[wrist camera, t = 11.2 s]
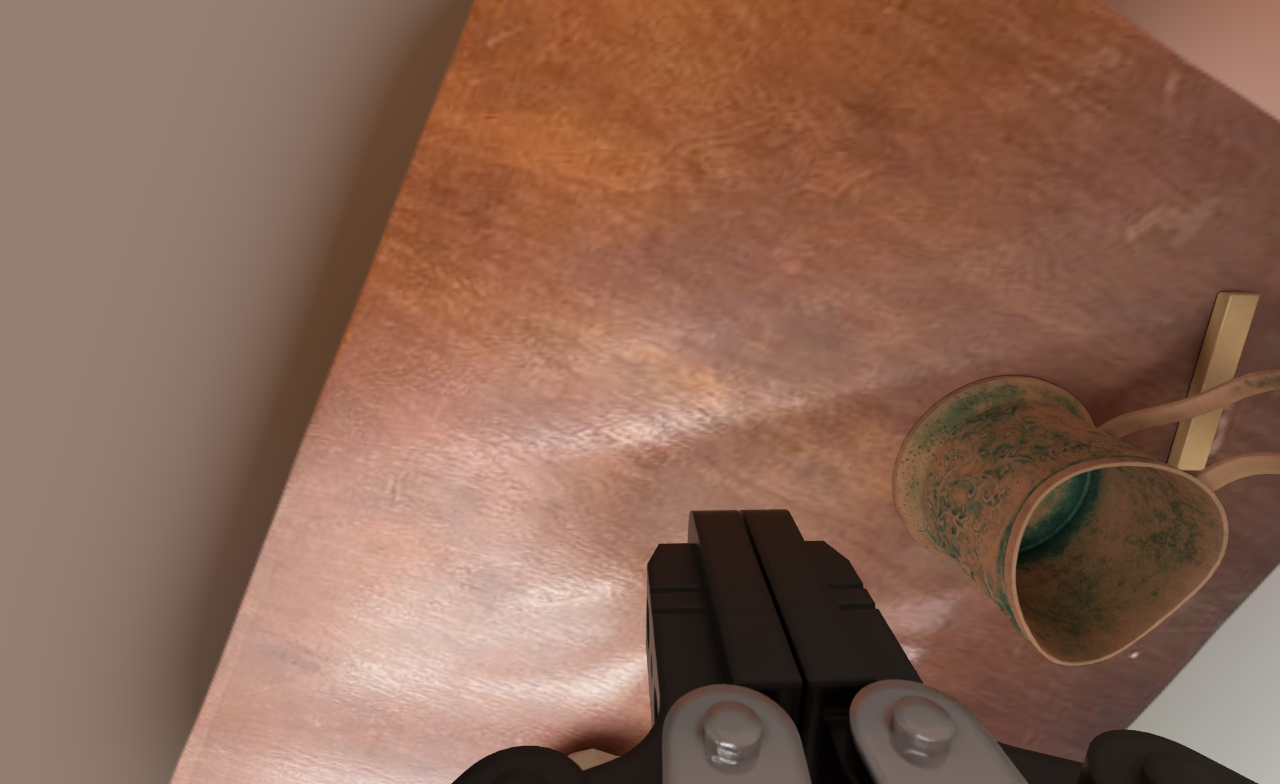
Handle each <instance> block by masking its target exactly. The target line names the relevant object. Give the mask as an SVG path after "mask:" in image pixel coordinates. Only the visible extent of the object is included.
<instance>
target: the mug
mask: <svg viewBox="0 0 1280 784" xmlns="http://www.w3.org/2000/svg"><path fill="white" fill-rule="evenodd" d="M1274 390H1280V369H1269V370H1263V371H1257V372H1253V373H1249V374H1246V375H1242V376H1239V377H1237V378H1234V379H1231V380H1229V381H1226V382H1224V383H1221V384H1219V385H1217V386H1215V387H1212V388H1210V389H1208V390H1206V391H1203V392H1201V393H1198V394H1196V395H1193V396H1191V397H1188V398H1185V399H1182V400H1178V401H1175V402H1171V403H1167V404H1163V405H1159V406H1155V407H1150V408H1146V409H1141V410H1137V411H1133V412H1129V413H1125V414H1123V415H1120V416H1117V417H1115V418H1113V419H1111V420H1109V421H1108V422H1106V423H1104V424H1102V425H1101V426H1099V427H1097V428H1096V427H1095V426H1094V423H1093V421H1092V419H1091V417H1090V415H1089V414H1088V412H1087V411H1086V409H1085V408H1084V407H1083V406H1082V404H1081V403H1080V402H1079V401H1078V400H1077V399H1076V398H1075V397H1073V396H1072V395H1071V394H1069V393H1068V392H1067V391H1065V390H1063V389H1061V388H1060V387H1058V386H1055V385H1053V384H1051V383H1048V382H1046V381H1043V380H1040V379H1036V378H1032V377H1025V376H999V377H993V378H988V379H983V380H980V381H977V382H974V383H971V384H969V385H966V386H964V387H962V388H960V389H958V390H956V391H954V392H952V393H950V394H949V395H947V396H946V397H944V398H943V399H941V400H940V401H939V402H937V403H936V404H935V405H934V406H932V407H931V408H930V409H929V410H928V411H927V412H926V413H925V414H924V415H923V416H922V417H921V418H920V419H919V420H918V422H917V423H916V424H915V426H914V427H913V428H912V430H911V431H910V433H909V434H908V436H907V438H906V439H905V441H904V443H903V445H902V447H901V449H900V452H899V455H898V458H897V461H896V465H895V469H894V476H893V494H894V501H895V505H896V508H897V512H898V514H899V516H900V518H901V520H902V522H903V524H904V525H905V527H906V528H907V530H908V531H909V532H910V534H911V535H912V536H913V537H914V538H915V539H916V540H917V541H918V542H919V543H920V544H921V545H922V546H923V547H925V548H926V549H928V550H929V551H931V552H933V553H934V554H936V555H939V556H941V557H943V558H946V559H949V560H952V561H956V562H958V563H959V565H960V567H961V568H962V570H963V571H964V572H965V573H966V574H967V575H968V576H970V577H971V579H972V580H973V581H974V583H975V584H976V585H977V586H978V587H980V588H981V589H982V590H983V591H984V592H985V593H986V594H987V595H988V596H989V597H990V598H991V599H992V600H993V601H994V602H995V604H996V605H997V606H998V607H999V608H1000V609H1001V611H1002V612H1003V613H1004V614H1005V615H1006V616H1007V617H1008V618H1009V619H1010V621H1011V623H1012V625H1013V627H1014V628H1015V629H1016V630H1017V632H1018V633H1020V634H1021V635H1022V636H1023V637H1024V638H1025V639H1026V640H1027V641H1028V642H1029V643H1030V644H1031V645H1033V646H1034V647H1035V648H1036V649H1038V650H1039V651H1040V652H1041V653H1042V654H1043V655H1044V656H1045V657H1046V658H1048V659H1049V660H1051V661H1053V662H1055V663H1057V664H1061V665H1067V666H1076V665H1086V664H1092V663H1096V662H1100V661H1102V660H1105V659H1108V658H1110V657H1112V656H1114V655H1116V654H1118V653H1119V652H1121V651H1123V650H1124V649H1126V648H1127V647H1129V646H1130V645H1132V644H1133V643H1135V642H1136V641H1138V640H1139V639H1140V638H1142V637H1143V636H1144V635H1146V634H1147V633H1148V632H1150V631H1151V630H1152V629H1154V628H1155V627H1156V626H1157V625H1159V624H1160V623H1161V622H1162V621H1164V620H1165V619H1166V618H1167V617H1168V616H1170V615H1171V614H1172V613H1173V612H1174V611H1175V610H1177V609H1178V608H1179V607H1180V606H1181V605H1182V604H1183V603H1185V602H1186V601H1187V600H1188V599H1189V598H1191V597H1192V596H1193V595H1194V594H1195V593H1196V592H1197V591H1198V590H1199V589H1200V588H1201V587H1202V586H1203V585H1204V584H1205V583H1206V582H1207V581H1208V580H1209V578H1210V577H1211V576H1212V575H1213V573H1214V572H1215V570H1216V569H1217V567H1218V566H1219V564H1220V562H1221V560H1222V558H1223V555H1224V553H1225V550H1226V547H1227V542H1228V533H1229V529H1228V521H1227V516H1226V513H1225V510H1224V508H1223V506H1222V504H1221V502H1220V501H1219V499H1218V498H1217V497H1216V495H1215V494H1214V493H1213V492H1214V491H1216V490H1217V489H1219V488H1221V487H1222V486H1224V485H1226V484H1228V483H1230V482H1232V481H1235V480H1237V479H1240V478H1243V477H1247V476H1251V475H1257V474H1280V453H1274V452H1254V453H1246V454H1240V455H1236V456H1232V457H1229V458H1226V459H1223V460H1221V461H1218V462H1216V463H1214V464H1212V465H1210V466H1208V467H1206V468H1205V469H1203V470H1201V471H1200V472H1198V473H1197V474H1195V475H1194V476H1191V475H1190V474H1188V473H1186V472H1184V471H1182V470H1180V469H1178V468H1176V467H1174V466H1171V465H1169V464H1166V463H1164V462H1163V461H1161V460H1159V459H1157V458H1155V457H1153V456H1151V455H1149V454H1147V453H1145V452H1144V451H1142V450H1140V449H1138V448H1136V447H1134V446H1132V445H1130V444H1128V443H1126V442H1124V441H1122V440H1120V439H1119V438H1121V437H1123V436H1125V435H1127V434H1129V433H1132V432H1135V431H1138V430H1142V429H1146V428H1151V427H1156V426H1161V425H1166V424H1171V423H1175V422H1180V421H1184V420H1187V419H1191V418H1194V417H1198V416H1201V415H1204V414H1207V413H1209V412H1212V411H1214V410H1217V409H1219V408H1222V407H1224V406H1226V405H1229V404H1231V403H1233V402H1236V401H1238V400H1241V399H1243V398H1246V397H1249V396H1252V395H1255V394H1259V393H1263V392H1267V391H1274Z"/></svg>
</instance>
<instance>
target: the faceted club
mask: <svg viewBox="0 0 1280 784" xmlns="http://www.w3.org/2000/svg"><path fill="white" fill-rule="evenodd" d="M568 757H569V758H571V759H572V760H573V761H574V762H575V763H577V764H578V765H579V766H580V768H581V769H582V770H586V769H588V768H591V767H594V766H597V765H600V764H603V763H605V762H608V761H611V760H613V759H615V758H618V757H620V756H615V755H612V754H609V753H606V752H602V751H599V750H596V749H588V750H584V751H579V752H574V753H572V754H570V755H568Z"/></svg>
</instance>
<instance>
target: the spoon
mask: <svg viewBox="0 0 1280 784" xmlns="http://www.w3.org/2000/svg"><path fill="white" fill-rule="evenodd" d="M1259 297H1260V296H1259V295H1258V294H1253V293H1247V292H1219V293H1218V296H1217V299H1216V302H1215V306H1214V309H1213V312H1212V316H1211V319H1210V322H1209V326H1208V329H1207V332H1206V336H1205V339H1204V342H1203V345H1202V349H1201V352H1200V355H1199V359H1198V362H1197V365H1196V369H1195V372H1194V375H1193V379H1192V382H1191V385H1190V389H1189V392H1188V395H1187V398H1188V397H1191V396H1193V395H1196V394H1198V393H1201V392H1203V391H1206V390H1208V389H1210V388H1212V387H1215V386H1217V385H1219V384H1221V383H1224V382H1226V381H1229V380H1231V379H1233V378H1234V374H1235V371H1236V368H1237V365H1238V362H1239V359H1240V356H1241V353H1242V350H1243V346H1244V343H1245V340H1246V337H1247V334H1248V331H1249V328H1250V325H1251V322H1252V318H1253V315H1254V312H1255V309H1256V306H1257V303H1258V300H1259ZM1223 409H1224V407H1222V408H1219V409H1217V410H1214V411H1212V412H1209V413H1207V414H1204V415H1201V416H1198V417H1194V418H1191V419H1187V420H1184V421H1180V422H1179V425H1178V429H1177V432H1176V435H1175V439H1174V442H1173V445H1172V449H1171V452H1170V455H1169V459H1168V462H1167V464H1169V465H1171V466H1174V467H1176V468H1178V469H1180V470H1203V469H1204V468H1205V465H1206V462H1207V459H1208V455H1209V452H1210V449H1211V446H1212V443H1213V440H1214V437H1215V434H1216V431H1217V427H1218V424H1219V421H1220V418H1221V415H1222V412H1223Z"/></svg>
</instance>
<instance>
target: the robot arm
mask: <svg viewBox="0 0 1280 784" xmlns="http://www.w3.org/2000/svg"><path fill="white" fill-rule="evenodd" d="M646 654H647V667H648V680H649V693H650V706H651V719H652V729H651V730H650V732H649V734H648V735H647V736H646V737H645V738H644V739H643V740H642V741H641V742H640V743H639V744H638V745H637V746H636V747H634V748H633V749H632V750H630V751H629V752H627V753H625V754H624V755H622V756H620V757H618V758H615V759H613V760H611V761H608V762H605V763H603V764H600V765H597V766H594V767H591V768H588V769H586V770H582V769H581V768H580V766H579V765H578V764H577V763H575V762H574V761H573V760H572V759H571V758H569V757H568V756H566V755H564V754H562V753H561V752H558V751H556V750H553V749H550V748H546V747H540V746H518V747H511V748H508V749H504V750H500V751H498V752H495V753H493V754H491V755H488V756H486V757H485V758H483V759H481V760H480V761H478V762H476V763H475V764H474V765H472V766H471V767H470V768H469V769H467V770H466V771H465V772H464V773H463V774H462V775H460V776H459V777H458V778H457V779H456V780H455V781H454V782H453V783H452V784H1258V783H1255V782H1254V781H1252V780H1250V779H1248V778H1246V777H1244V776H1242V775H1240V774H1238V773H1236V772H1234V771H1233V770H1231V769H1229V768H1227V767H1225V766H1223V765H1221V764H1219V763H1217V762H1215V761H1213V760H1211V759H1209V758H1207V757H1206V756H1204V755H1202V754H1200V753H1198V752H1196V751H1194V750H1192V749H1190V748H1188V747H1186V746H1184V745H1181V744H1179V743H1177V742H1175V741H1172V740H1169V739H1166V738H1164V737H1160V736H1157V735H1154V734H1151V733H1146V732H1141V731H1136V730H1111V731H1108V732H1104V733H1102V734H1100V735H1098V736H1097V737H1095V738H1094V739H1093V740H1092V742H1091V743H1090V745H1089V748H1088V750H1087V754H1086V757H1085V760H1084V763H1081V762H1077V761H1073V760H1068V759H1064V758H1060V757H1056V756H1051V755H1047V754H1043V753H1039V752H1034V751H1030V750H1026V749H1022V748H1017V747H1014V746H1010V745H1007V744H1003V743H1001V742H998V741H996V740H995V739H994V738H993V736H992V735H991V734H990V732H989V731H988V730H987V728H986V727H985V726H984V724H983V723H982V722H981V721H980V720H979V719H978V717H977V716H976V715H975V714H974V713H973V712H971V711H970V710H969V709H968V708H967V707H966V706H964V705H963V704H962V703H960V702H959V701H958V700H956V699H955V698H953V697H951V696H949V695H948V694H946V693H944V692H942V691H940V690H938V689H936V688H933V687H930V686H928V685H925V684H923V682H922V680H921V679H920V677H919V675H918V674H917V672H916V670H915V669H914V667H913V666H912V664H911V662H910V661H909V659H908V657H907V656H906V654H905V652H904V651H903V649H902V647H901V646H900V644H899V642H898V641H897V639H896V637H895V636H894V634H893V632H892V631H891V629H890V628H889V626H888V624H887V623H886V621H885V619H884V618H883V616H882V614H881V613H880V611H879V609H876V608H875V603H874V601H873V599H872V598H871V596H870V595H869V593H868V591H867V590H866V589H864V588H863V583H862V581H861V580H860V578H859V576H858V575H857V573H856V571H855V570H854V568H853V566H852V565H851V563H850V561H849V560H848V559H846V558H845V557H844V556H842V555H841V554H840V553H839V552H837V551H836V550H835V549H833V548H832V547H831V546H830V545H828V544H827V543H826V542H824V541H804V539H803V537H802V535H801V533H800V531H799V529H798V527H797V526H796V524H795V522H794V520H793V518H792V516H791V514H790V512H789V511H788V510H786V509H772V510H740V511H739V512H738V511H737V510H714V511H691V512H690V515H689V524H688V543H677V544H659V545H658V547H657V548H656V550H655V552H654V554H653V555H652V557H651V559H650V560H649V562H648V564H647V613H646Z"/></svg>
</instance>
